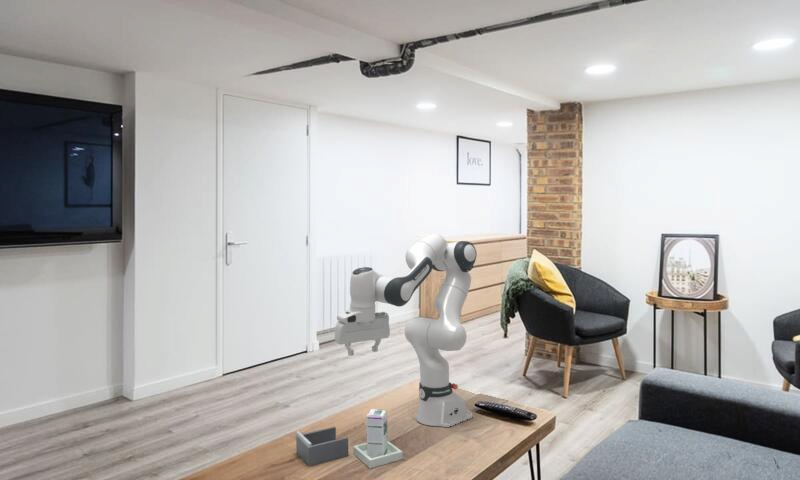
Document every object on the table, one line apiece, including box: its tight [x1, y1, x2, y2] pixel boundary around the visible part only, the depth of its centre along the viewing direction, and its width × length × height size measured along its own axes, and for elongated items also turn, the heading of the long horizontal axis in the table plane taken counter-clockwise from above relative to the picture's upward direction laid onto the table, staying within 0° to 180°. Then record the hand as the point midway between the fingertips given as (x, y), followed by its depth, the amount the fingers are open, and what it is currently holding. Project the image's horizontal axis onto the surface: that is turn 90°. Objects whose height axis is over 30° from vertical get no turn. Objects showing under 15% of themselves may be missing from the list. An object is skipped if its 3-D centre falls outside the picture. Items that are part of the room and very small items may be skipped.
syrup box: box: [365, 408, 388, 458], centre depth 182 cm, size 6×6×14 cm
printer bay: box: [295, 425, 349, 467], centre depth 184 cm, size 14×11×7 cm
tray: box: [352, 439, 403, 469], centre depth 183 cm, size 12×12×3 cm
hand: (363, 353), depth 193 cm, fingers open, 8 cm apart
